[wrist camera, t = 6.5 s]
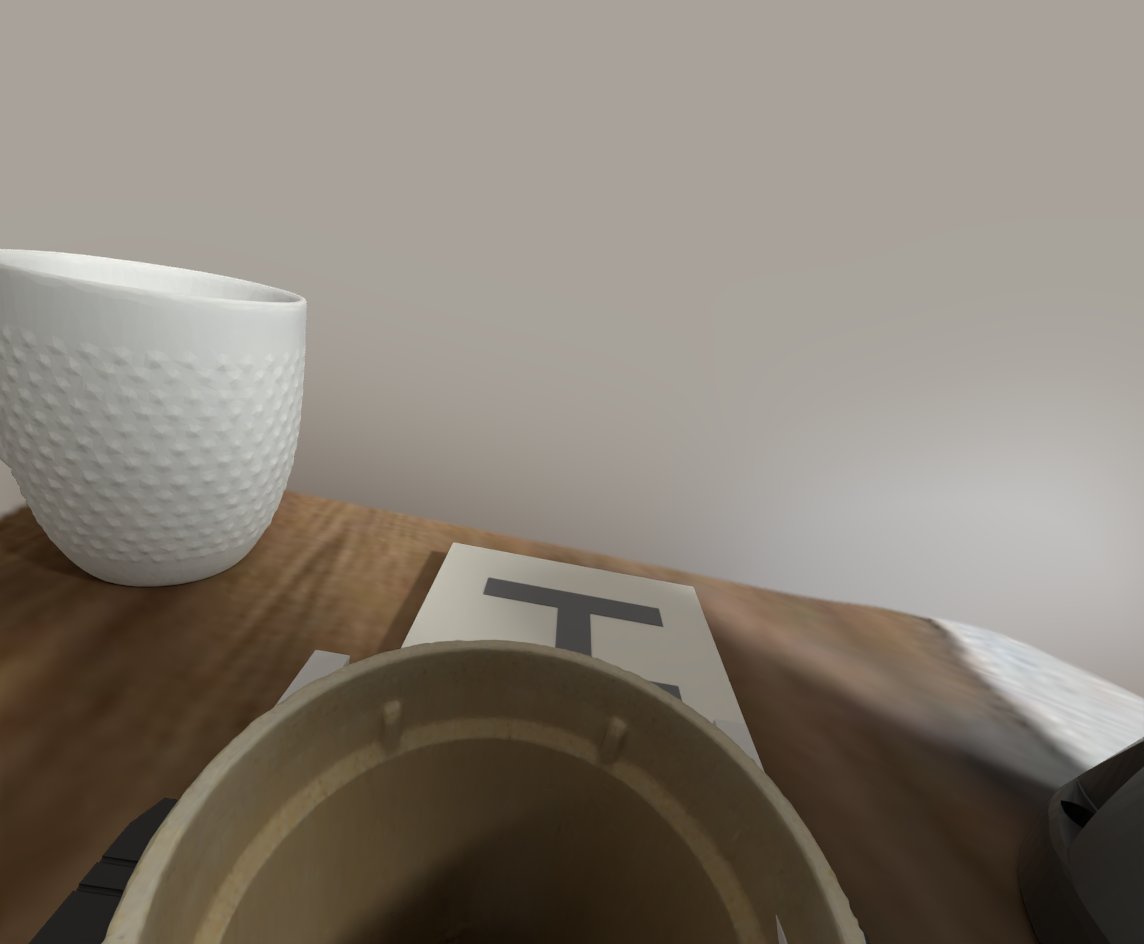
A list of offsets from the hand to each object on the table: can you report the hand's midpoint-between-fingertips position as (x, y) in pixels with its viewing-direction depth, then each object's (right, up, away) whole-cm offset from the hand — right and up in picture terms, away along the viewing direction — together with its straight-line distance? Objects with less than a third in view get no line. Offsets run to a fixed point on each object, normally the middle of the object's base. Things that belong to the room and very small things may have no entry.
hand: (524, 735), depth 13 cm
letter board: (+1, -2, +13) cm, 13 cm away
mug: (-20, +2, +15) cm, 25 cm away
